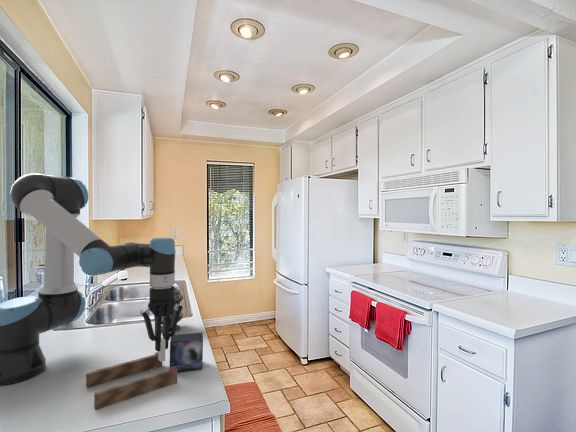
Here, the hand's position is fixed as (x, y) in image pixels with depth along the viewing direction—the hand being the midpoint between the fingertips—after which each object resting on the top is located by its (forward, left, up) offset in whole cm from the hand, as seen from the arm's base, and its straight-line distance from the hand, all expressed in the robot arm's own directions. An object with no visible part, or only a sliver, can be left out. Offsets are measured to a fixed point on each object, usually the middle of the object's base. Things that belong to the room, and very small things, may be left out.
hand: (161, 359), depth 104 cm
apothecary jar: (+16, +39, -5) cm, 43 cm away
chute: (-9, 0, -5) cm, 10 cm away
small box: (+8, 0, -5) cm, 10 cm away
